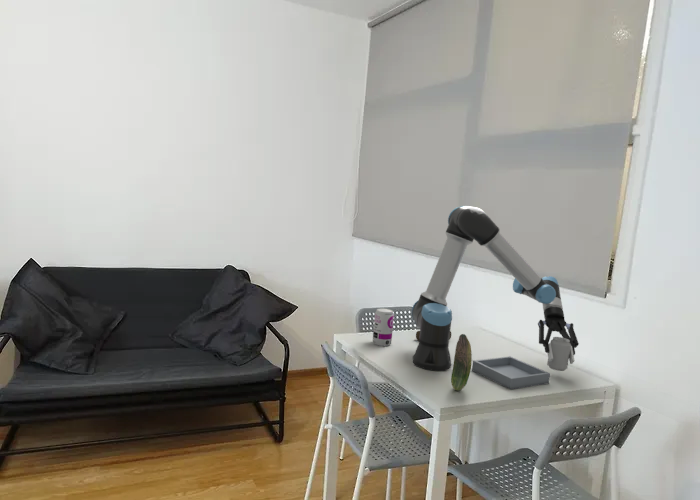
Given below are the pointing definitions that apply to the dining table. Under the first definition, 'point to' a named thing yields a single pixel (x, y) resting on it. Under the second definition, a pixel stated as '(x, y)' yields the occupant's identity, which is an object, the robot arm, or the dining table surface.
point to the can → (559, 353)
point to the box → (510, 372)
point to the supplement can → (383, 327)
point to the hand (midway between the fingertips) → (561, 361)
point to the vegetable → (461, 363)
